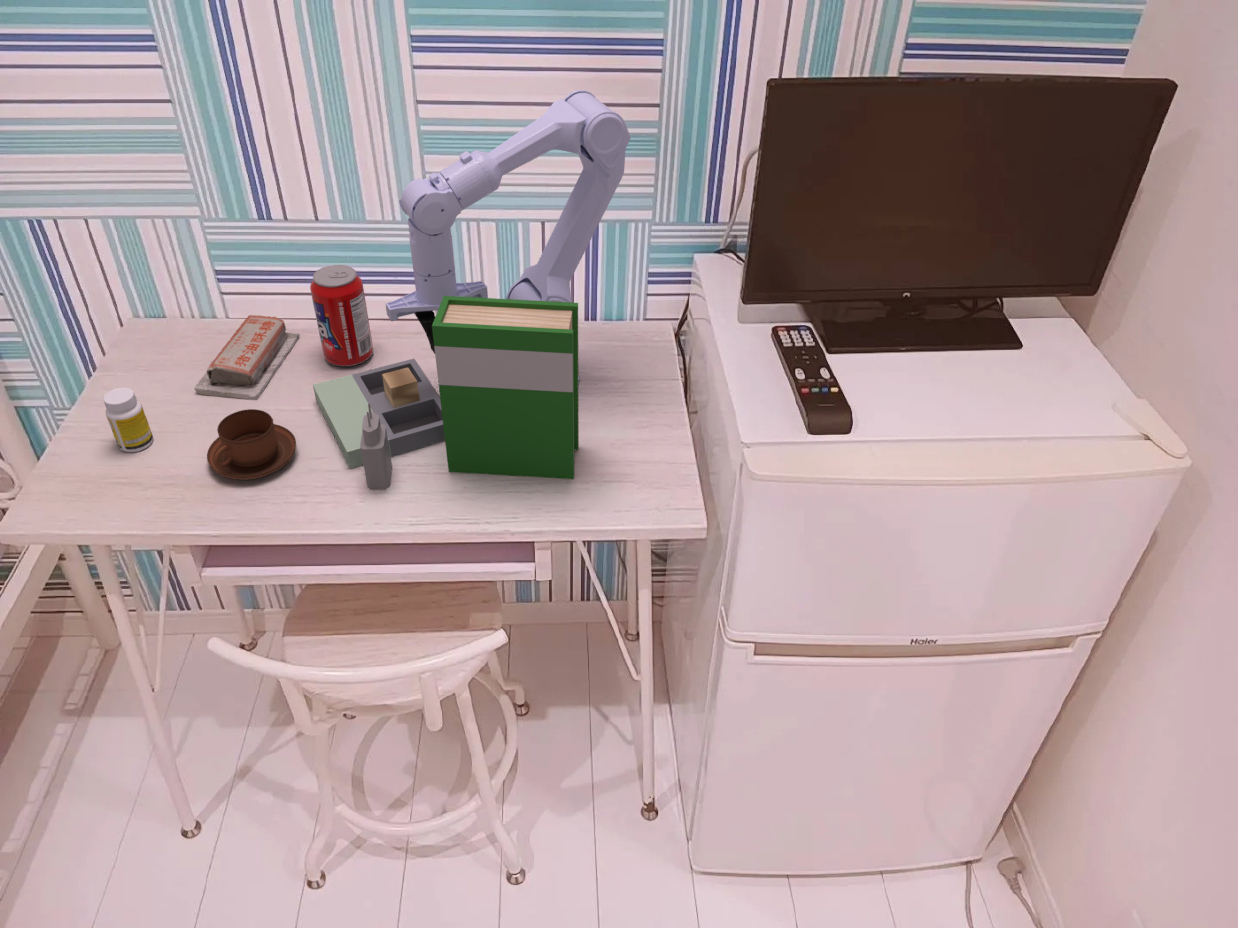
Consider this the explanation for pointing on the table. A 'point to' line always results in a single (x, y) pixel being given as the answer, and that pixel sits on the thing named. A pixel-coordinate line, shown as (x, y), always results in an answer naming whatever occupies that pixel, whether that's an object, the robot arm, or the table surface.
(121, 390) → the supplement bottle
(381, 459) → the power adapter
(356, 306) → the soda can
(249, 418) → the cup and saucer
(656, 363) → the table surface
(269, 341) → the packaged product
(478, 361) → the hardback book
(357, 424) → the box
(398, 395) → the maple block
